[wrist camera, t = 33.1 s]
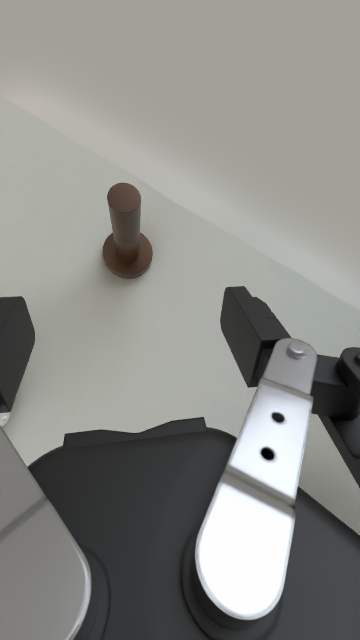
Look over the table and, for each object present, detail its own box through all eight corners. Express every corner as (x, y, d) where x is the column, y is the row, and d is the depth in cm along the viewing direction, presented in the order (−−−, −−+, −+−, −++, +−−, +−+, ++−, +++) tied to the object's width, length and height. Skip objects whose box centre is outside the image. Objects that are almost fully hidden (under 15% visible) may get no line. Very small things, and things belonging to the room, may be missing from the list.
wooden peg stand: (126, 224, 30) (121, 151, 20) (161, 255, 30) (174, 197, 20) (93, 256, 29) (70, 197, 19) (130, 288, 29) (127, 245, 19)
